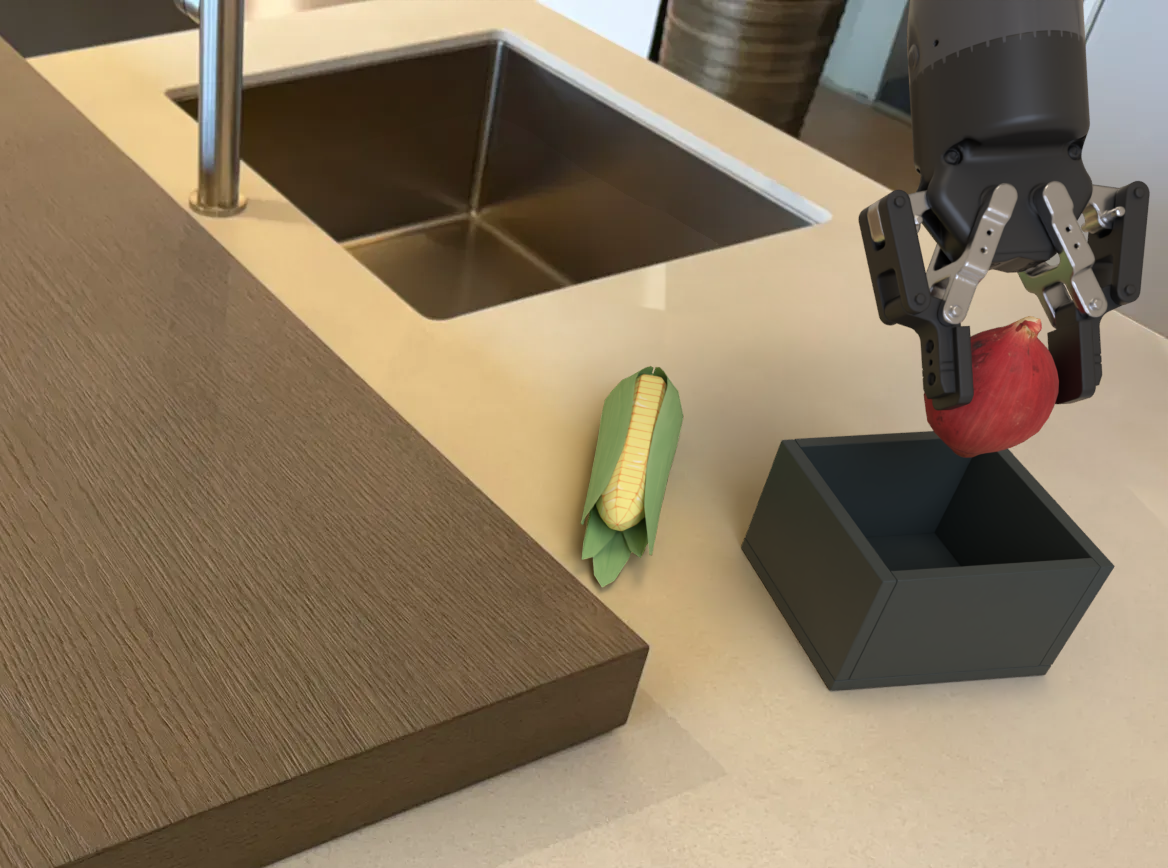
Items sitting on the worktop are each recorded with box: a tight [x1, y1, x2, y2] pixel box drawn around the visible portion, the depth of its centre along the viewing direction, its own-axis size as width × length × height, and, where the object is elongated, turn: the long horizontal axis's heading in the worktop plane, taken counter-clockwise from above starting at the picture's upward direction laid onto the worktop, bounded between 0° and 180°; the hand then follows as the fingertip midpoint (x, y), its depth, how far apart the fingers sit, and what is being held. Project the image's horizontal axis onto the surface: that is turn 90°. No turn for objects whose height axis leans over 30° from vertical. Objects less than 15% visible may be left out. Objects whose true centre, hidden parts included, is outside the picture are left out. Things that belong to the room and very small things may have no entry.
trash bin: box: [740, 430, 1116, 692], centre depth 76 cm, size 13×13×8 cm
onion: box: [923, 315, 1059, 458], centre depth 69 cm, size 6×6×8 cm
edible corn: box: [580, 365, 684, 588], centre depth 85 cm, size 5×20×5 cm, turn 161°
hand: (1014, 402), depth 67 cm, fingers closed on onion, 5 cm apart
